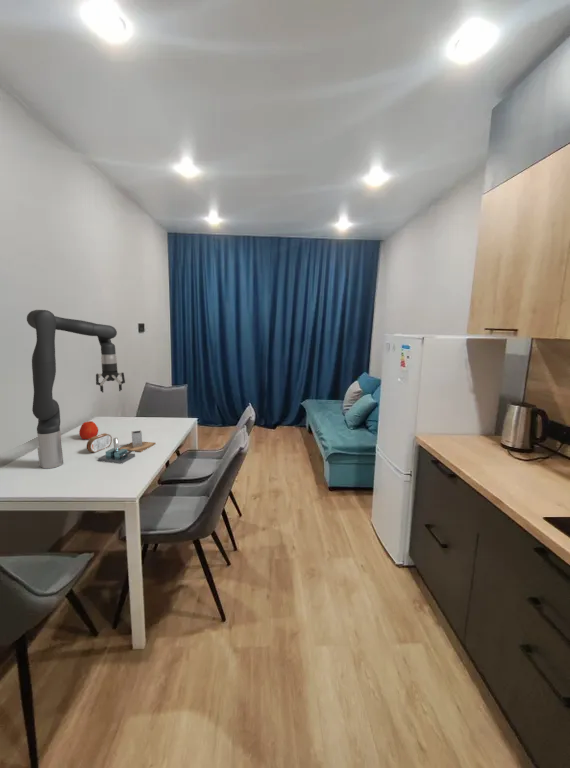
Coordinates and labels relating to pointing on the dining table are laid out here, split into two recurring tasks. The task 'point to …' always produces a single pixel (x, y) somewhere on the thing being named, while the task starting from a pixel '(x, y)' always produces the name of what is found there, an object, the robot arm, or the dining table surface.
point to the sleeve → (137, 439)
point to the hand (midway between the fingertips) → (111, 391)
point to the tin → (99, 442)
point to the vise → (116, 454)
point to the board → (137, 449)
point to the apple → (88, 430)
